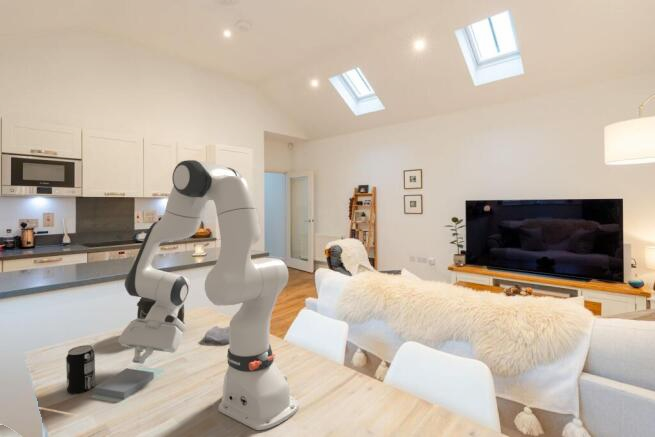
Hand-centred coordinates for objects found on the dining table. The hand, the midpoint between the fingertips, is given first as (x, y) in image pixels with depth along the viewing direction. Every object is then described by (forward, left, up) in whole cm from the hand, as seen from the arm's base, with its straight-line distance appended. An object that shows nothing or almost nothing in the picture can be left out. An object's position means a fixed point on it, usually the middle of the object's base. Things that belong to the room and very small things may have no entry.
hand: (137, 362), depth 101 cm
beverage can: (+6, +13, -6) cm, 15 cm away
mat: (-1, +2, -5) cm, 6 cm away
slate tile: (+1, -1, -4) cm, 4 cm away
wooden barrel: (+33, -19, -6) cm, 38 cm away
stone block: (+10, -33, -6) cm, 35 cm away
